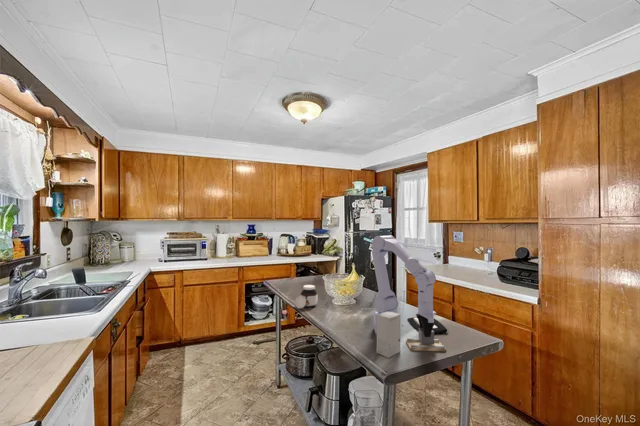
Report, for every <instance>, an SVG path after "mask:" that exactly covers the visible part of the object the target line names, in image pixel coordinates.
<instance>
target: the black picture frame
mask: <svg viewBox="0 0 640 426" xmlns="http://www.w3.org/2000/svg"><path fill="white" fill-rule="evenodd" d="M406 320H407V322H408V323H409V325H410V326H411V327H412V328H413V329H414V330H415V331H416V332H417V333H419V328H420V325H419V321H418V318H417V316H413V317H408V318H407V319H406ZM434 320H435V321H436V323H435V324H434V326H433V328H432V330H433V331H434V335H435V334H441V333H446V332H448V329H447V328H446V326H445V325H444V324H443V323H441V322H440V321H439V320H438V319H436V318H434Z"/></svg>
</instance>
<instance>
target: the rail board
mask: <svg viewBox="0 0 640 426" xmlns="http://www.w3.org/2000/svg"><path fill="white" fill-rule="evenodd" d="M405 343H406V345H407V346H408V349H409V351H426V352H427V351H429V352H447V348H446V346H445V345H443V344H442V342H440V339H439V338H434V345H430V344H421V343H420V341H419V338H411V337H410V338H408V337H407V338H406V340H405Z"/></svg>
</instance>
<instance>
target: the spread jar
mask: <svg viewBox="0 0 640 426" xmlns="http://www.w3.org/2000/svg"><path fill="white" fill-rule="evenodd" d="M318 297H319V296H318V292H317V289H316V285H313V284H305V285H303V289H302V290H301V292H300V295H299V296H297V297H296V299H295V306H296V308H297V309H303V308H310V309H311V308H315V306H317V304H318V299H319V298H318Z"/></svg>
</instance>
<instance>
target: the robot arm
mask: <svg viewBox="0 0 640 426" xmlns="http://www.w3.org/2000/svg"><path fill="white" fill-rule="evenodd" d="M371 245H372V246H371V247H372V251H371V256H372V262H373V266H374V271H375V278H376V283H377V285H376V286H377V290H378V292H377V293H376V295H375V304H374V305H375V309H376V310H377V311H374V312H373V330H374V333H375V335H377V315H378V314H381V313H384V312H388V311H390V312H394V313H396V309H398V306H399V301H398V299H397V297H396V295H395V294H396V293H395V292H394V291H392V290H391V286H390V280H389V275H388V270H387V264H386V258H385V256H386V255H387V253H388V252H392V253H394V255H396V256H397V258H399V259H400V260H401V261H402V262H403V263H404V268H405V269H406V270H407V271H408V272H409V273H410V274H411V276H413V278H414V280H415V283H416V285H417V290H418V291H417V292H418V294H417V313H416V314H415V317H417V318H418V321H419V325H420V328H423V332H424V336H425V337H430V336H431V332H432V328H433V326H434V324H435V323H436V321H435V320H434V319H435V317H434V315H436V314H437V312H436V311H435V310H434V284H435V283H436V280H437V278H436V274H435V273H434V272H433V271H432V270H429V269H427V268H426V267H424V266H423V264H421V262H420V260H419V259H418V258H415V257H410V255H409V254H408V253H407V252H406V251H405V249H404V248H403V247H402V246H401V245H400V244H399V243H398V239H396V238H395V237H394V236H393V235H391V234H389V235H376V236H374V238H373V239H372V240H371Z"/></svg>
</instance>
